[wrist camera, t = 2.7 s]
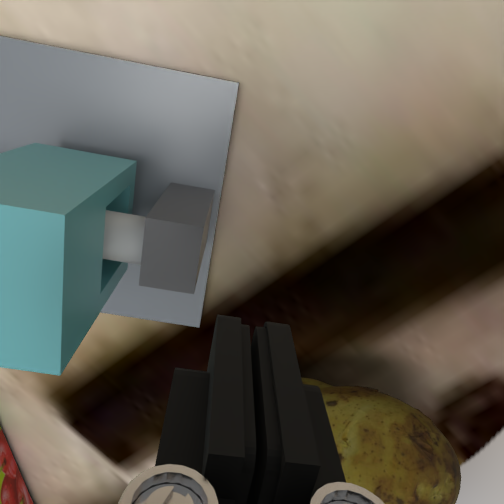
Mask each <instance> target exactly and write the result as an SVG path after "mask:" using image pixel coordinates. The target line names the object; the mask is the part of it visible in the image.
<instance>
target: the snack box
mask: <svg viewBox="0 0 504 504" xmlns="http://www.w3.org/2000/svg"><path fill="white" fill-rule="evenodd" d="M0 504H33V502H32V499H31V497H30V495H29V492H28V490H27V487H26V485H25V483H24V480H23V478H22V476H21V473H20V471H19V469H18V466H17V464H16V462H15V459H14V457H13V454H12V452H11V450H10V447H9V445H8V443H7V440H6V438H5V436H4V433H3V431H2V429H1V427H0Z"/></svg>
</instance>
